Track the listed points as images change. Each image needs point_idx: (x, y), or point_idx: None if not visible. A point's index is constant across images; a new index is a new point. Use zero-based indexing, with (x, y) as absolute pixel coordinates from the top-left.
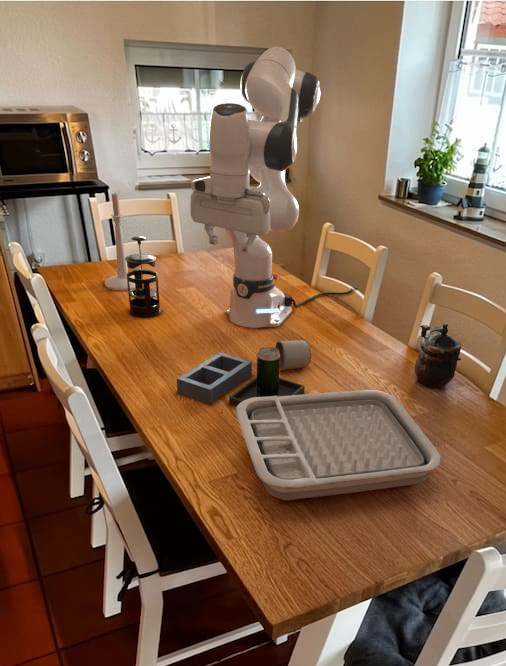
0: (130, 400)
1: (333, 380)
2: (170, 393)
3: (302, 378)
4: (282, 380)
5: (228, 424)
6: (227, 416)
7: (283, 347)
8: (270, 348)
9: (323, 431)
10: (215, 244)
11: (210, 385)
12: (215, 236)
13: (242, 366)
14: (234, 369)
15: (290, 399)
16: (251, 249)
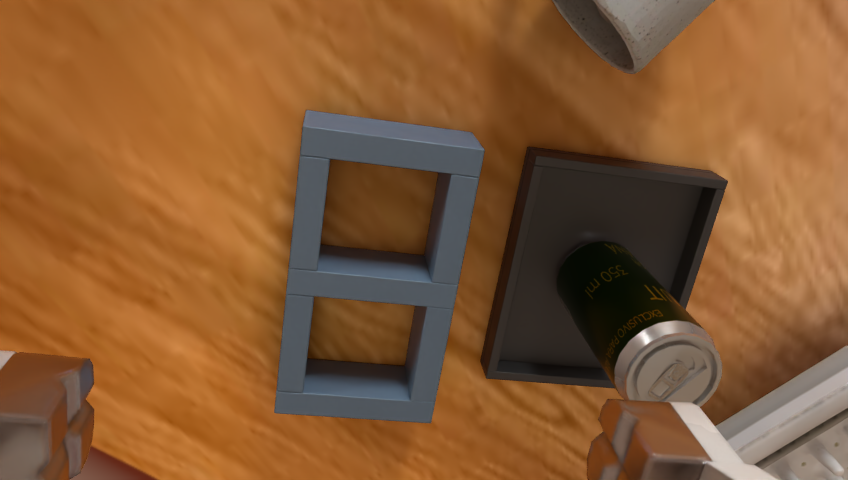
0: (169, 476)
1: (814, 9)
2: (257, 387)
3: (682, 54)
4: (631, 177)
5: (523, 451)
6: (503, 418)
7: (633, 54)
8: (673, 347)
9: (844, 473)
10: (92, 418)
11: (416, 400)
12: (15, 458)
13: (464, 212)
14: (444, 252)
15: (757, 461)
16: (699, 408)
